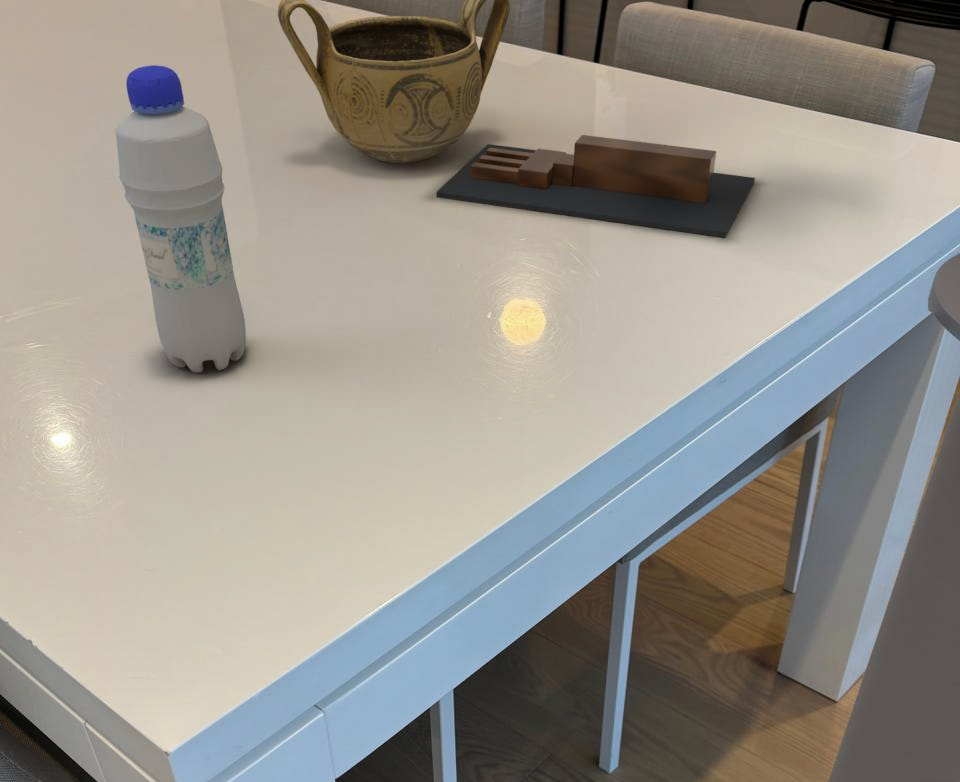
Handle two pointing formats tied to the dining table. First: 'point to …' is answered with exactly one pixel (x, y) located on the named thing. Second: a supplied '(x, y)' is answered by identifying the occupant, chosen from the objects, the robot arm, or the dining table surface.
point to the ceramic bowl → (400, 77)
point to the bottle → (180, 221)
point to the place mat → (609, 201)
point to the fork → (607, 168)
